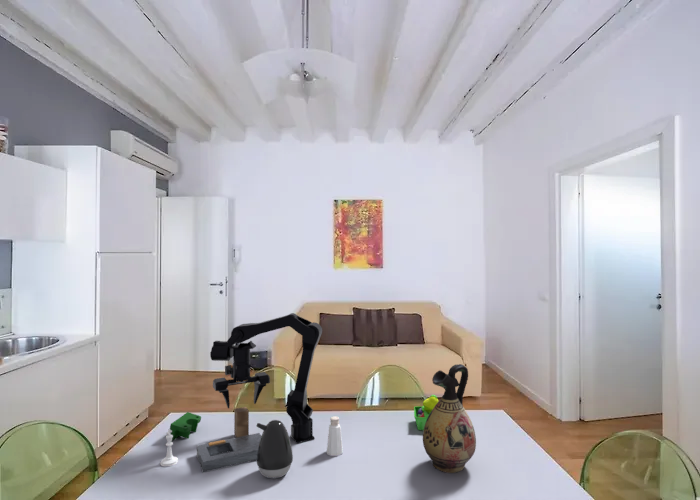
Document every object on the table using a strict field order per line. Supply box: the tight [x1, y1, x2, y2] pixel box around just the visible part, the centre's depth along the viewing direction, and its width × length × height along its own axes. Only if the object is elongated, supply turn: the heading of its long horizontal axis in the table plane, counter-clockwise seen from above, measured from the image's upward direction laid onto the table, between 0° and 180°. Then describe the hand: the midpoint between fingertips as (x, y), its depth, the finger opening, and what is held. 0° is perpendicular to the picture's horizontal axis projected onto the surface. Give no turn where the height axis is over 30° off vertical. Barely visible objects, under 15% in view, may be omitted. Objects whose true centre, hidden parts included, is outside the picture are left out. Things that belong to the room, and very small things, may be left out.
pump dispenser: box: [256, 419, 294, 479], centre depth 121 cm, size 10×10×15 cm
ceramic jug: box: [422, 363, 477, 474], centre depth 125 cm, size 17×15×30 cm
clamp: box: [169, 411, 202, 441], centre depth 148 cm, size 12×6×9 cm, turn 167°
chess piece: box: [160, 428, 179, 468], centre depth 127 cm, size 5×5×10 cm
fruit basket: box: [413, 394, 439, 431], centre depth 155 cm, size 11×9×11 cm
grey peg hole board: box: [196, 432, 262, 473], centre depth 131 cm, size 20×12×3 cm, turn 118°
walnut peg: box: [233, 406, 250, 438], centre depth 147 cm, size 4×4×9 cm
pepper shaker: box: [326, 415, 344, 457], centre depth 134 cm, size 5×5×11 cm
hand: (241, 405), depth 147 cm, fingers open, 9 cm apart
